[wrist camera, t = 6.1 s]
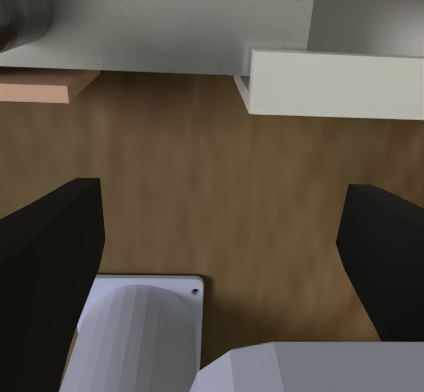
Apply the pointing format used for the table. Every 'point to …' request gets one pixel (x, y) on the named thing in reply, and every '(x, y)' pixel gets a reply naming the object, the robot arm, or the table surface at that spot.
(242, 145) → the table surface
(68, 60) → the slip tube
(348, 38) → the white channel beam
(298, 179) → the table surface
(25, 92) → the socket
